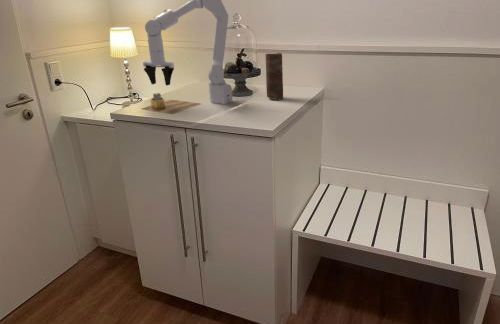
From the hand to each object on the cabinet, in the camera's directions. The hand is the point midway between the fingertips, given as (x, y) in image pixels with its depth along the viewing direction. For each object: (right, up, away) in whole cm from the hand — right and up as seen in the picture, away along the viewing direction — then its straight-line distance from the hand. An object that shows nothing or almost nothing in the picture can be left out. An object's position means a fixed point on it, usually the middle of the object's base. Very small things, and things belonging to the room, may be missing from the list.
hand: (160, 84), depth 159 cm
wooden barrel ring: (-1, -10, -2) cm, 10 cm away
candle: (+49, -5, +10) cm, 50 cm away
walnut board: (+5, -10, -1) cm, 11 cm away
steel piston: (0, -11, -1) cm, 11 cm away
